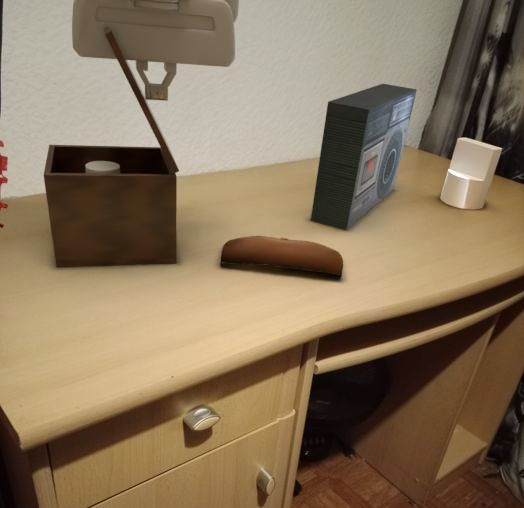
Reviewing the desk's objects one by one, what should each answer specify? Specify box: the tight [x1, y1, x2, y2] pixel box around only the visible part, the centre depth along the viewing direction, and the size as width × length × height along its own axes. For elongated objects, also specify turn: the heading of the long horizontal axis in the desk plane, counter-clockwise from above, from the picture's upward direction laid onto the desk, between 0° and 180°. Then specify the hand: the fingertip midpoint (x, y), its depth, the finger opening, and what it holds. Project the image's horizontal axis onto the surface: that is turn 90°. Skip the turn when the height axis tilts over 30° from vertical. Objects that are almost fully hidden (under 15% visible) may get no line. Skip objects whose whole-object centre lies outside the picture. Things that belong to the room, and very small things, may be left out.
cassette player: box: [310, 83, 418, 231], centre depth 102 cm, size 29×7×20 cm, turn 152°
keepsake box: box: [43, 144, 178, 268], centre depth 79 cm, size 17×14×13 cm
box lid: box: [104, 27, 180, 174], centre depth 72 cm, size 17×14×1 cm
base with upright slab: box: [440, 137, 503, 211], centre depth 112 cm, size 9×9×12 cm
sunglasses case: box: [220, 235, 344, 278], centre depth 81 cm, size 18×7×7 cm, turn 86°
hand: (156, 99), depth 72 cm, fingers closed
